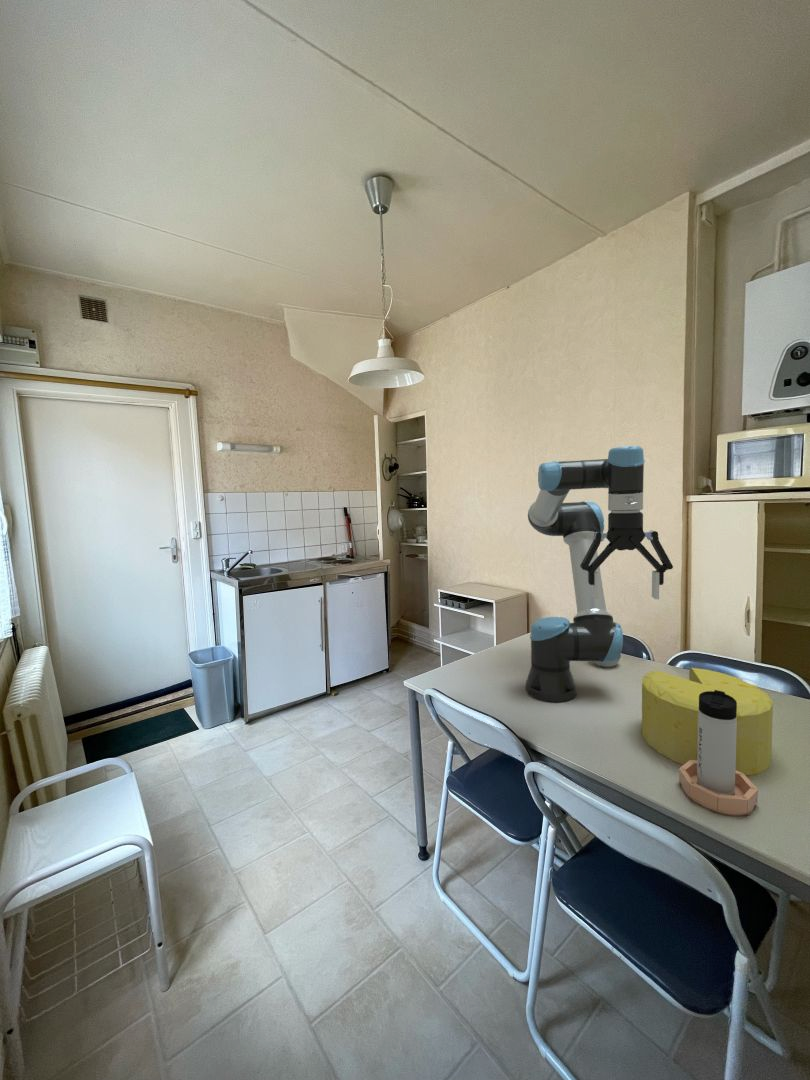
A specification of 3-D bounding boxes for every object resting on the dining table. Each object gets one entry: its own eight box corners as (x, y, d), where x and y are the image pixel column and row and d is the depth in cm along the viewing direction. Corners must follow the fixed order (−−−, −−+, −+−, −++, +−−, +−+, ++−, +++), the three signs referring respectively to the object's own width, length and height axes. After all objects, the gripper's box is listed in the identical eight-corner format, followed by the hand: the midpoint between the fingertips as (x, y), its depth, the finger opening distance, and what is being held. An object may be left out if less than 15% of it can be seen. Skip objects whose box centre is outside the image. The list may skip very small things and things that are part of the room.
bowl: (697, 812, 83) (697, 795, 82) (672, 773, 94) (672, 758, 94) (768, 819, 80) (769, 801, 80) (733, 778, 92) (734, 763, 92)
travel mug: (736, 788, 88) (739, 694, 86) (732, 805, 83) (735, 706, 81) (699, 776, 92) (701, 686, 90) (694, 792, 87) (696, 697, 85)
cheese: (651, 707, 124) (652, 657, 123) (770, 735, 107) (771, 678, 106) (631, 749, 104) (631, 690, 103) (772, 792, 87) (774, 722, 86)
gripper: (573, 514, 102) (573, 601, 104) (690, 510, 97) (688, 602, 99) (568, 512, 109) (568, 594, 112) (676, 509, 104) (675, 594, 106)
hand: (624, 598), depth 105 cm, fingers open, 13 cm apart
